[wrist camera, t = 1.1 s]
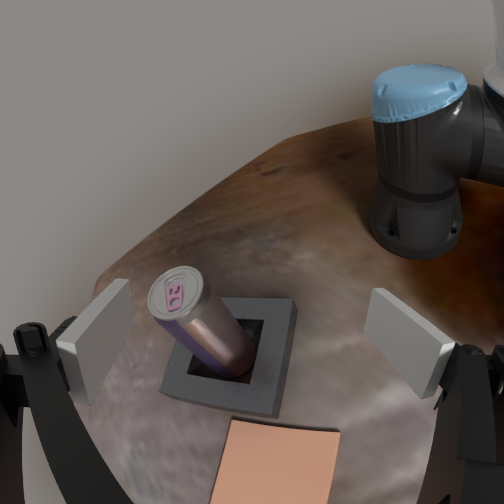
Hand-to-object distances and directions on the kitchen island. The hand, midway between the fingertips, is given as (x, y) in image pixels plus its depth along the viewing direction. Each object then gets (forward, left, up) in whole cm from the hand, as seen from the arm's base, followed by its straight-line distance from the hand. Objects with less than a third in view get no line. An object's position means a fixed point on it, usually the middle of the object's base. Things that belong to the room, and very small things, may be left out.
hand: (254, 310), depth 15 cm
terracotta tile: (+10, -2, -20) cm, 22 cm away
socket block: (-4, -10, -20) cm, 23 cm away
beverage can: (-4, -10, -20) cm, 23 cm away
